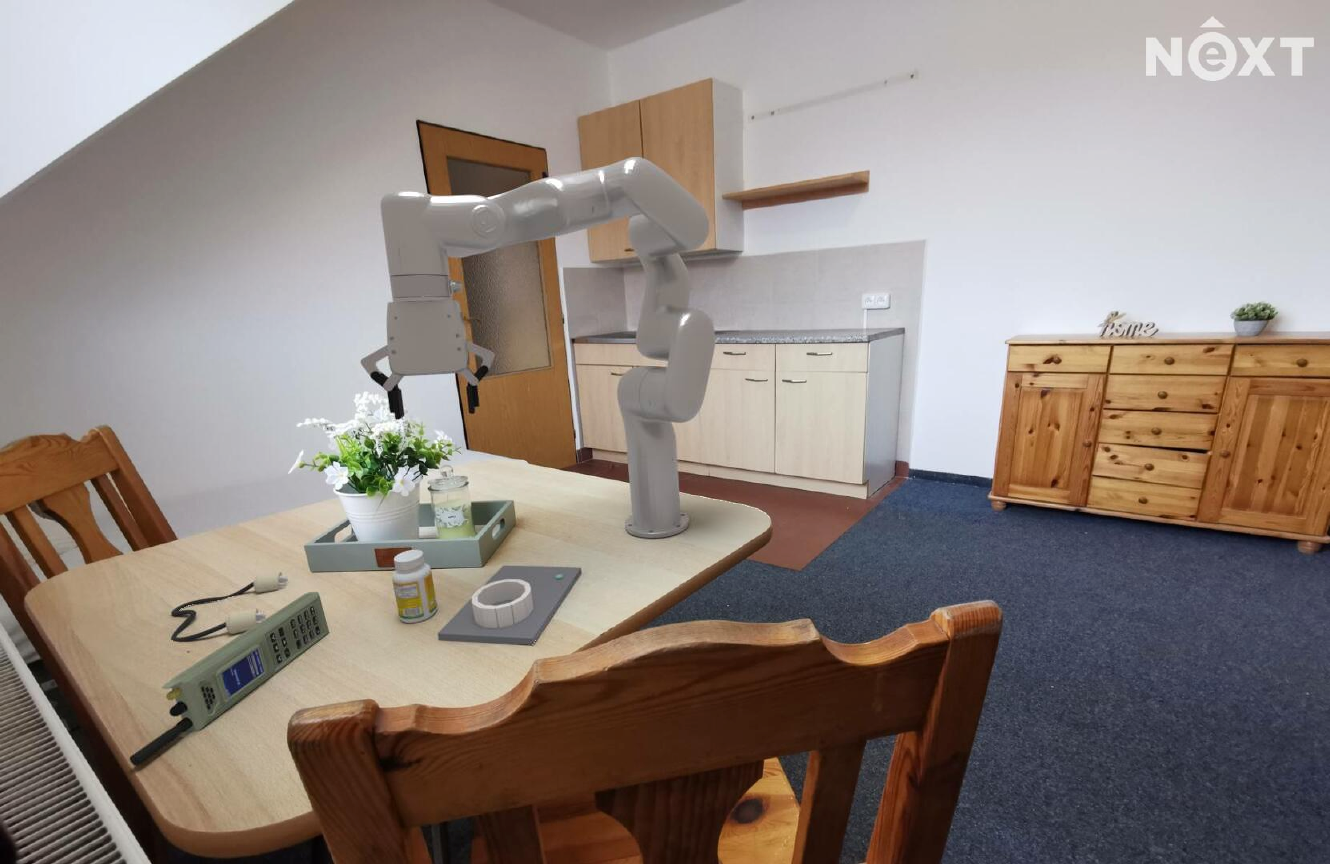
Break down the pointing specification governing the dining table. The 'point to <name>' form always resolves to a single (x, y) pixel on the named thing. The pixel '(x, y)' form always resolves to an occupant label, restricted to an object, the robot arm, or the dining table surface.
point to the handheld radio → (239, 668)
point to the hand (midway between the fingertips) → (436, 415)
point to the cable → (236, 619)
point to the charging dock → (526, 627)
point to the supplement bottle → (413, 587)
